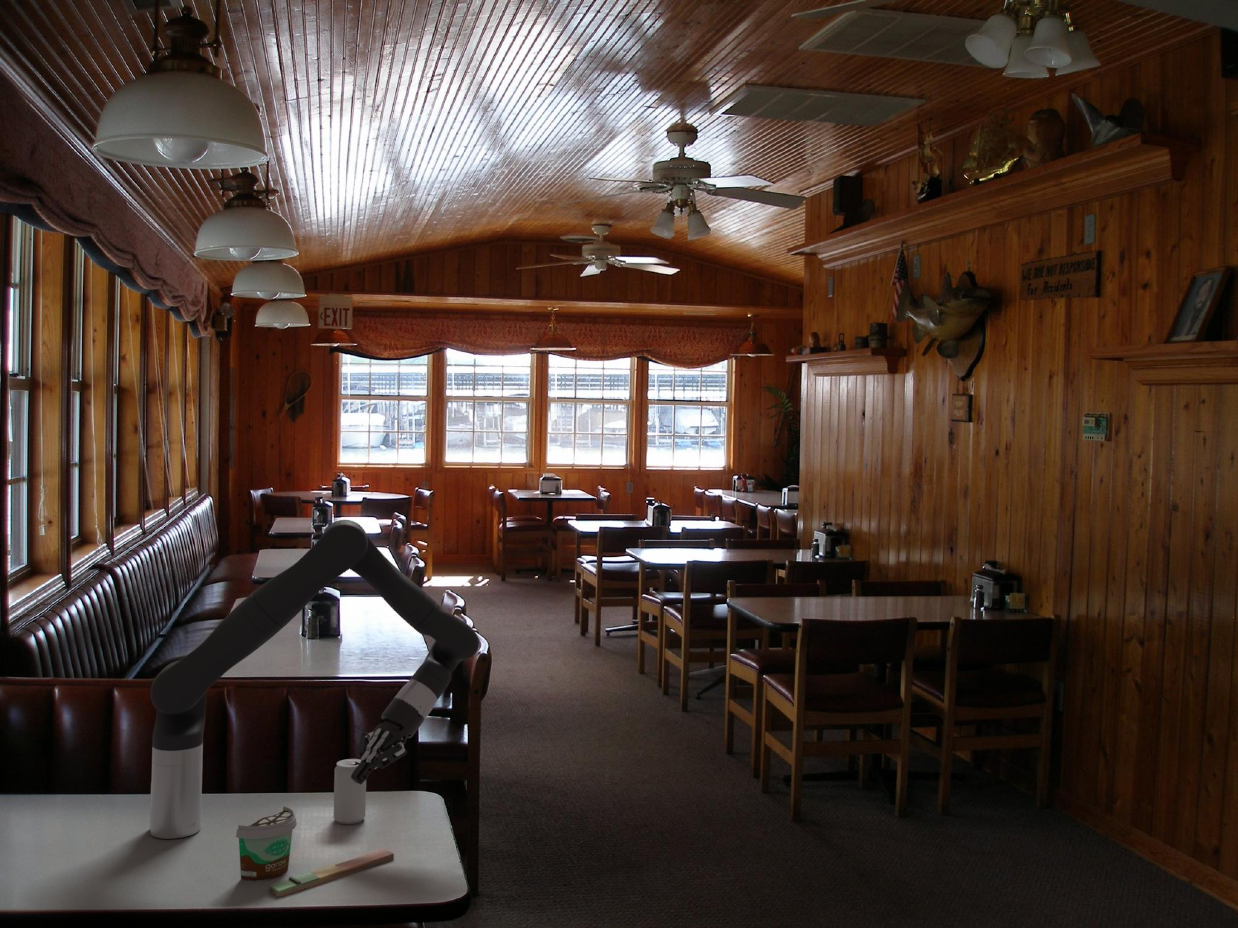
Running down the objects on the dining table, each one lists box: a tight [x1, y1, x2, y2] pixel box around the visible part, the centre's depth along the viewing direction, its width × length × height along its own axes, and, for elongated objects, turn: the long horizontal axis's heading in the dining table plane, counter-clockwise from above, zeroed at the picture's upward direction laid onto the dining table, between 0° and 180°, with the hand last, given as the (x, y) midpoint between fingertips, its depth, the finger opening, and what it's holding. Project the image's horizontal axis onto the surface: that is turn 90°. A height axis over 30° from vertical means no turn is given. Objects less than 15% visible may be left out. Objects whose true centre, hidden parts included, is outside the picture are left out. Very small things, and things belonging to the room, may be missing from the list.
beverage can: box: [333, 758, 367, 825], centre depth 220 cm, size 6×6×12 cm
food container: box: [235, 805, 298, 882], centre depth 192 cm, size 12×6×10 cm, turn 155°
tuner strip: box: [268, 848, 395, 898], centre depth 192 cm, size 3×24×2 cm, turn 139°
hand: (355, 780), depth 205 cm, fingers closed
